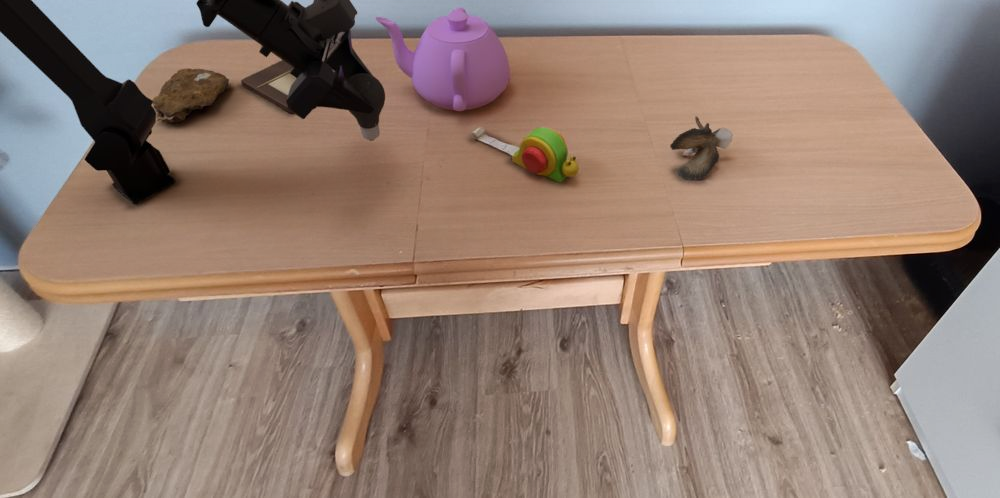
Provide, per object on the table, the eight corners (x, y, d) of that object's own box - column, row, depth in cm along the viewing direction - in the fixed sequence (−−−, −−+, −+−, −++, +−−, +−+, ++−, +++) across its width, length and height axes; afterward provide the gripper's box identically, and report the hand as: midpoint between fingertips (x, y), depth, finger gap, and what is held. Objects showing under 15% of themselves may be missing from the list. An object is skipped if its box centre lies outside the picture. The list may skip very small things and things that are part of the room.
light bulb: (399, 135, 84) (390, 72, 76) (374, 156, 80) (362, 92, 73) (369, 123, 86) (357, 60, 78) (343, 143, 82) (328, 79, 75)
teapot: (392, 60, 111) (381, -13, 101) (506, 58, 111) (507, -16, 101) (381, 129, 96) (366, 51, 86) (513, 125, 96) (514, 47, 86)
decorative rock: (211, 131, 96) (240, 85, 107) (204, 109, 93) (234, 64, 104) (141, 128, 96) (176, 82, 106) (131, 106, 93) (169, 61, 103)
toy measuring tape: (563, 195, 85) (567, 159, 80) (462, 144, 93) (460, 109, 88) (587, 173, 88) (592, 137, 83) (488, 126, 96) (487, 91, 92)
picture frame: (291, 114, 99) (289, 107, 98) (242, 86, 105) (240, 79, 104) (362, 75, 107) (361, 68, 106) (313, 51, 113) (311, 44, 112)
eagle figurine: (676, 131, 93) (656, 151, 87) (712, 103, 88) (693, 122, 82) (706, 167, 94) (688, 190, 87) (744, 142, 88) (727, 164, 82)
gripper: (289, 8, 59) (410, 99, 68) (317, -60, 72) (416, 24, 81) (235, 79, 65) (353, 155, 73) (270, 4, 77) (367, 76, 86)
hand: (374, 98), depth 78 cm, fingers closed on light bulb, 5 cm apart
